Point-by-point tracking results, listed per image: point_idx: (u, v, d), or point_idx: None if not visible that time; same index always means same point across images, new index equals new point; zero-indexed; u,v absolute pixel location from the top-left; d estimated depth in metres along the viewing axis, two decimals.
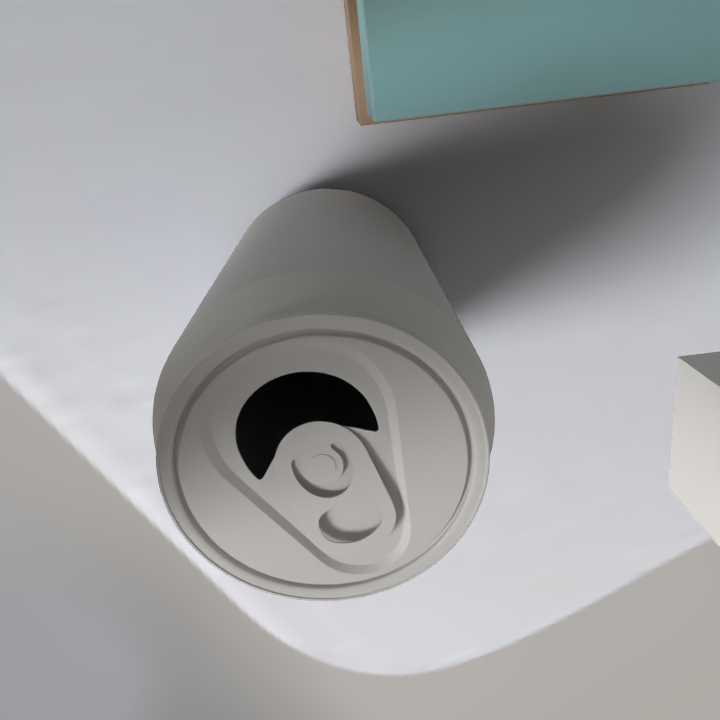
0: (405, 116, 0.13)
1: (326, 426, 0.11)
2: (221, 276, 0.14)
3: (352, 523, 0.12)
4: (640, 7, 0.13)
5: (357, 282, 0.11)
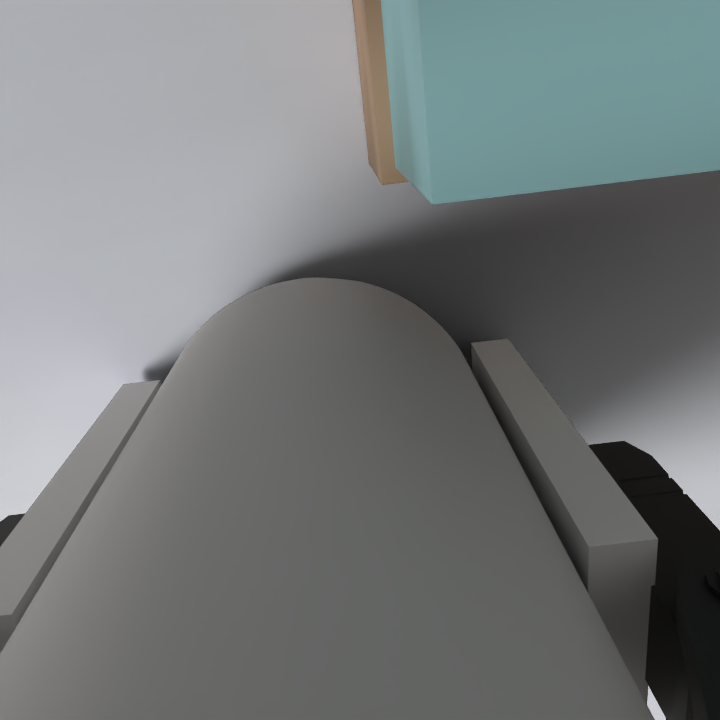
0: (505, 191, 0.05)
1: None
2: (58, 574, 0.06)
3: None
4: None
5: None
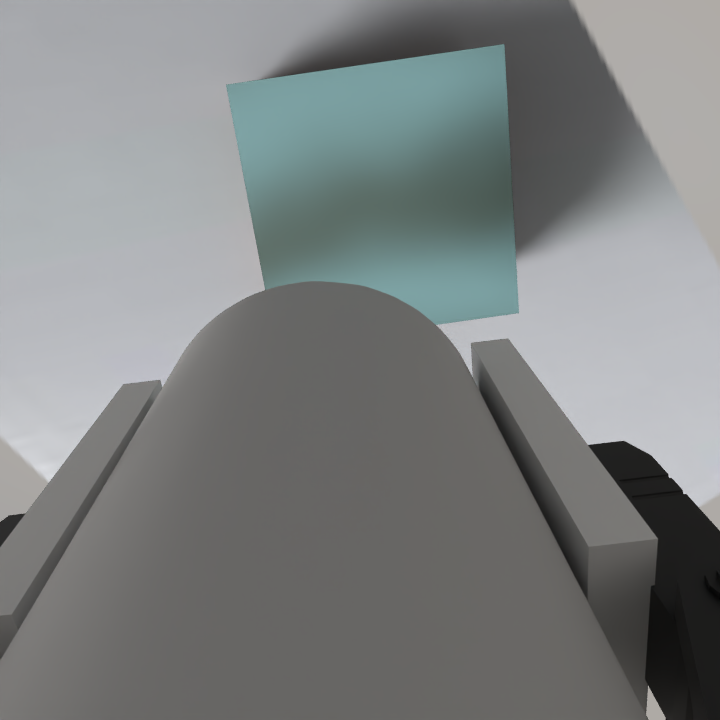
0: None
1: None
2: (58, 580, 0.06)
3: None
4: (424, 283, 0.22)
5: None
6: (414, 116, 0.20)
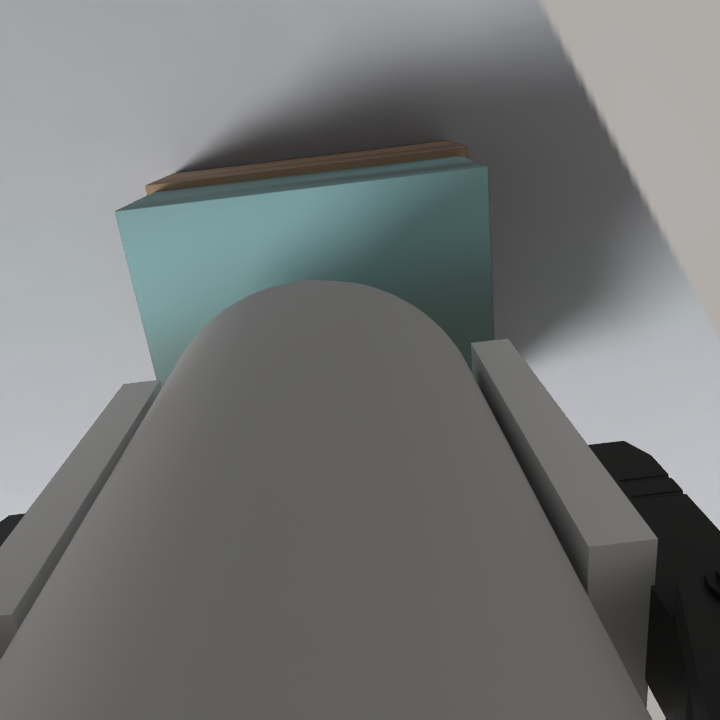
0: None
1: None
2: (59, 579, 0.06)
3: None
4: None
5: None
6: (367, 255, 0.15)
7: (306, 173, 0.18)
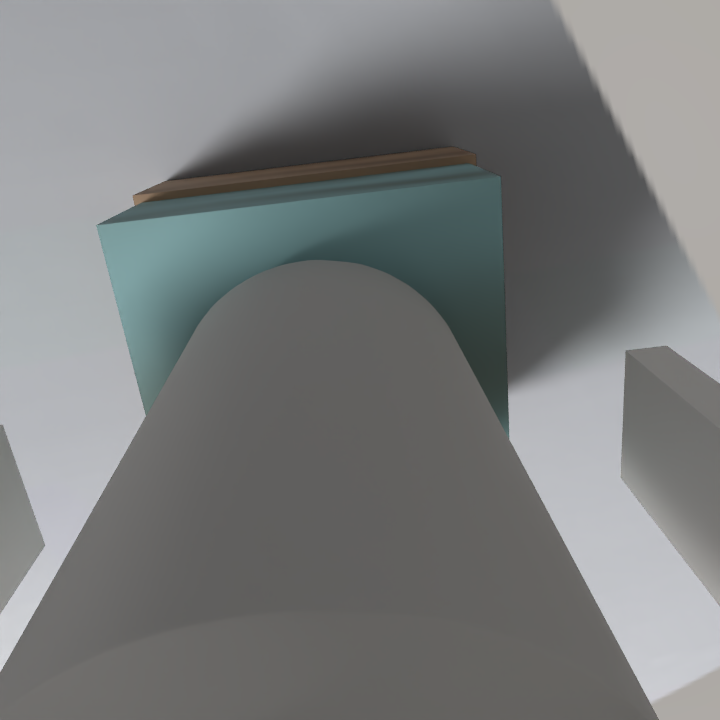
0: None
1: None
2: (114, 489, 0.07)
3: None
4: None
5: (404, 652, 0.04)
6: None
7: (304, 182, 0.17)
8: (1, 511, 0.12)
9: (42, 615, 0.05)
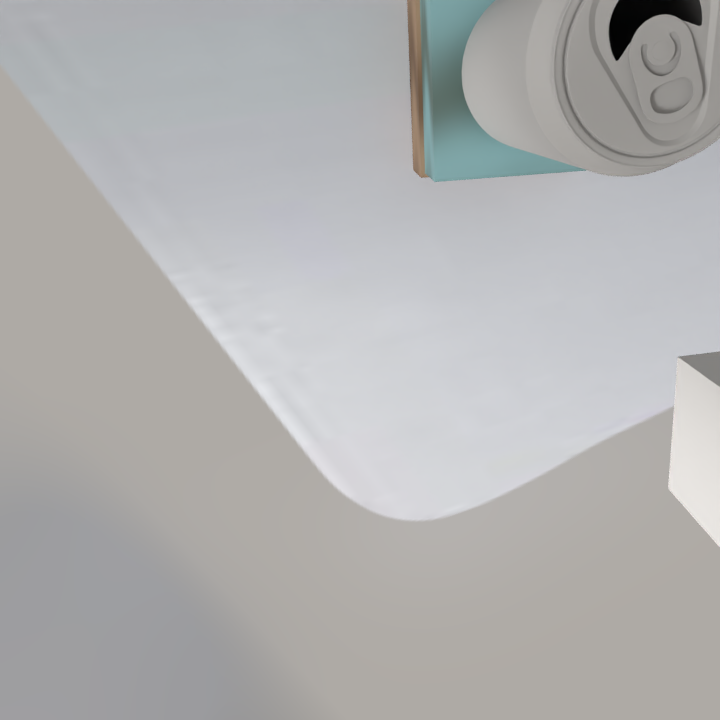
0: (448, 179, 0.29)
1: (668, 19, 0.16)
2: None
3: (667, 104, 0.17)
4: None
5: None
6: None
7: None
8: None
9: None
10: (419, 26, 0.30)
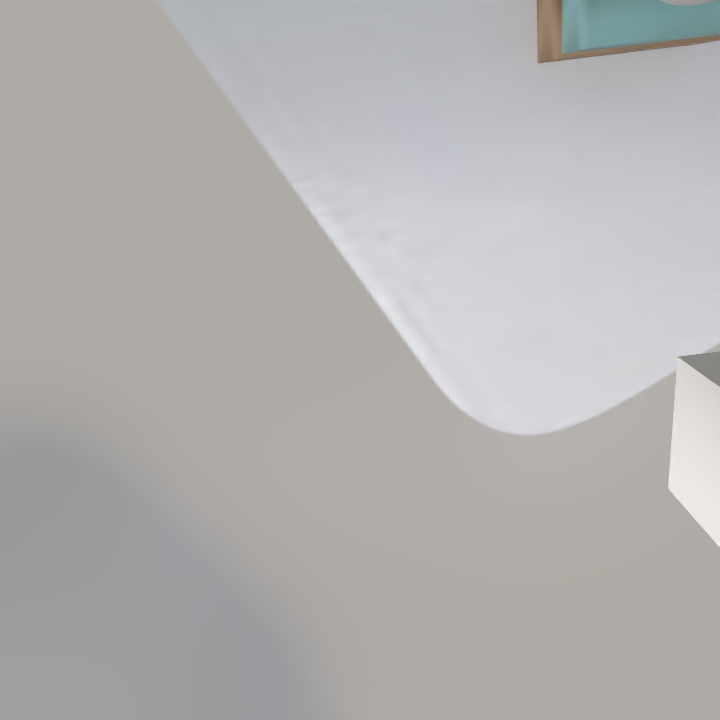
0: (601, 45, 0.29)
1: None
2: None
3: None
4: None
5: None
6: None
7: None
8: None
9: None
10: None
